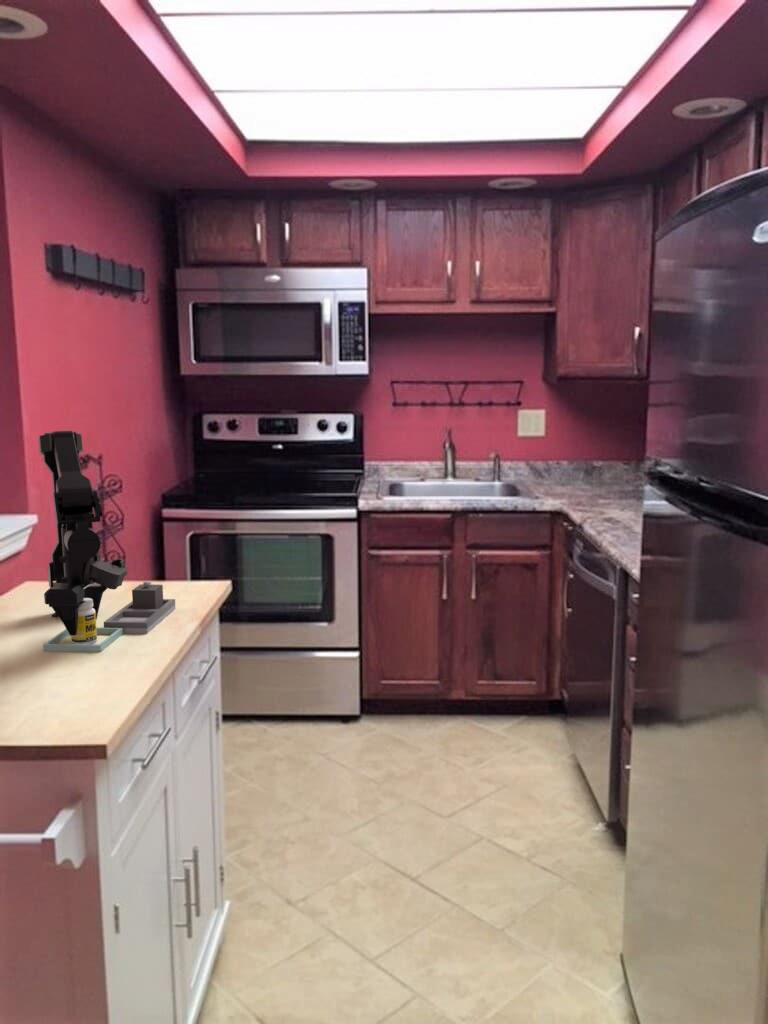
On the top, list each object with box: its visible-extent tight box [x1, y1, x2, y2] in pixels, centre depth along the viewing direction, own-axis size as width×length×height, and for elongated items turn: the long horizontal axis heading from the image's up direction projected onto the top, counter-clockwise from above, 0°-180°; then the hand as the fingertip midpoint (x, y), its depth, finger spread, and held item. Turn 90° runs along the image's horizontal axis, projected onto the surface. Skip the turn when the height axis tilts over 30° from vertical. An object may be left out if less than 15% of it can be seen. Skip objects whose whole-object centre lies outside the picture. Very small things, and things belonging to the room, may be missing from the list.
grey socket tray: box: [103, 598, 177, 634], centre depth 179 cm, size 9×18×2 cm, turn 176°
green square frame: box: [42, 626, 124, 653], centre depth 164 cm, size 11×11×1 cm
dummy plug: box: [131, 580, 164, 609], centre depth 183 cm, size 5×5×6 cm
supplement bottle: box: [70, 598, 98, 644], centre depth 164 cm, size 5×5×8 cm
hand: (83, 627), depth 164 cm, fingers open, 9 cm apart
